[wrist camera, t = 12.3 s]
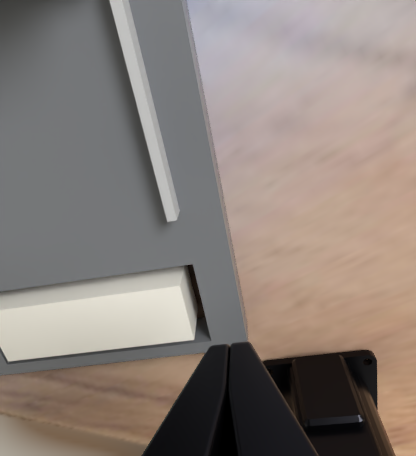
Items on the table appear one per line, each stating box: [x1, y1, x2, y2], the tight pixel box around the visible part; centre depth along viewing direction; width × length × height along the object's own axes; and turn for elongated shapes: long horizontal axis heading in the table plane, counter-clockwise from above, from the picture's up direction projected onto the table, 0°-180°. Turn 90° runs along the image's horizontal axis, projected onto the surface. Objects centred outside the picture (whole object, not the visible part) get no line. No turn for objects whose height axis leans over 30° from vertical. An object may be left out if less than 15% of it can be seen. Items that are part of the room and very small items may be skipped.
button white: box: [0, 265, 198, 361], centre depth 20 cm, size 3×10×2 cm, turn 101°
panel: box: [0, 0, 248, 375], centre depth 16 cm, size 26×15×3 cm, turn 11°
